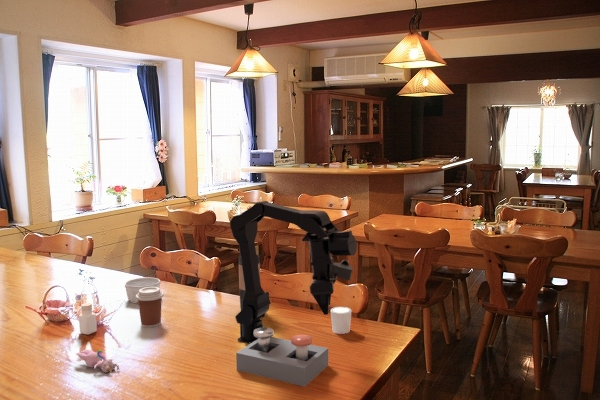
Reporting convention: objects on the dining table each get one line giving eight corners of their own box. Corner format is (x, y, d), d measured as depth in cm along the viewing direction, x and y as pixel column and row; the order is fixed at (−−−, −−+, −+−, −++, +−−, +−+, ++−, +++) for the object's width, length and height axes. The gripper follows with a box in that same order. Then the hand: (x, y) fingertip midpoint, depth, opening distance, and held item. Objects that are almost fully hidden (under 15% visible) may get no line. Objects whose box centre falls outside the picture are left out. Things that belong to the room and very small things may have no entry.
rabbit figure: (123, 372, 152) (87, 354, 159) (124, 353, 151) (88, 335, 158) (105, 382, 147) (68, 362, 154) (106, 362, 146) (69, 342, 153)
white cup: (350, 335, 173) (350, 314, 172) (328, 333, 174) (328, 312, 173) (352, 327, 180) (352, 306, 179) (332, 326, 181) (331, 305, 180)
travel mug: (252, 315, 192) (251, 260, 189) (235, 312, 196) (233, 257, 193) (265, 309, 198) (264, 255, 196) (248, 305, 202) (247, 253, 200)
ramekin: (146, 291, 222) (145, 275, 221) (168, 297, 214) (167, 280, 213) (118, 300, 211) (117, 283, 210) (140, 306, 203) (139, 288, 202)
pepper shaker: (79, 333, 178) (77, 305, 177) (89, 329, 181) (87, 301, 180) (87, 335, 176) (85, 307, 175) (97, 331, 179) (95, 303, 178)
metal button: (250, 351, 152) (249, 332, 151) (261, 344, 157) (260, 326, 156) (267, 355, 149) (266, 336, 148) (277, 348, 154) (277, 329, 153)
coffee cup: (144, 331, 179) (142, 295, 177) (132, 323, 186) (130, 289, 184) (169, 324, 185) (168, 289, 183) (157, 317, 192) (155, 284, 190)
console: (236, 370, 149) (236, 352, 149) (264, 351, 162) (263, 335, 161) (304, 386, 139) (304, 368, 139) (328, 365, 152) (328, 348, 151)
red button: (287, 360, 146) (287, 340, 145) (297, 352, 151) (297, 333, 150) (306, 364, 143) (305, 344, 143) (315, 356, 148) (315, 336, 147)
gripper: (348, 259, 145) (354, 317, 146) (350, 247, 163) (356, 298, 164) (306, 263, 146) (313, 320, 147) (313, 250, 164) (319, 301, 166)
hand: (327, 309), depth 156 cm, fingers open, 9 cm apart
